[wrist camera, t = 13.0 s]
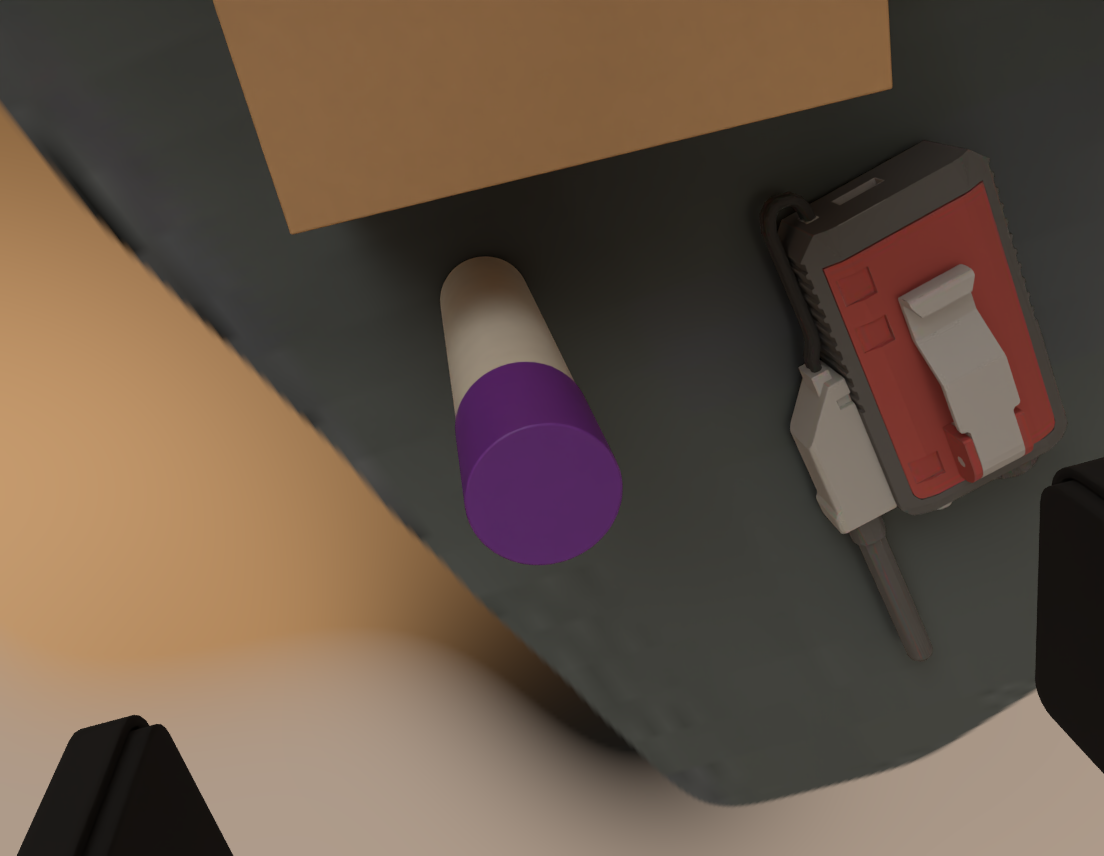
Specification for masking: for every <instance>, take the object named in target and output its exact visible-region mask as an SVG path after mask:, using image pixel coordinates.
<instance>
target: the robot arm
mask: <svg viewBox="0 0 1104 856" xmlns="http://www.w3.org/2000/svg"><path fill="white" fill-rule="evenodd" d="M1035 681H1036V688H1037V692H1038V695H1039V697H1040V700H1041V702H1042V704H1043V706H1044V707H1045V709H1046V711H1047V712H1048V713H1049V714H1050V716H1051V717H1052V718H1053V719H1054V720H1055V721H1056V722H1057V723H1058V725H1059V726H1060V727H1061V728H1062V729H1063V730H1064V731H1065V732H1066V733H1067V734H1068V735H1069V737H1070V738H1071V739H1072V740H1073V741H1074V742H1075V743H1076V744H1077V745H1078V746H1079V747H1080V748H1081V750H1082V751H1083V752H1084V753H1085V754H1086V755H1087V756H1088V757H1089V758H1090V759H1091V760H1092V761H1093V763H1094V764H1095V765H1096V766H1097V767H1098V768H1099V769H1100V770H1101V771H1102V772H1103V773H1104V457H1103V458H1099V459H1096V460H1092V461H1088V462H1084V463H1081V464H1077V465H1073V466H1069V467H1066V468H1062V469H1061V470H1059V471H1057V472H1056V474H1055V476H1054V478H1053V481H1052V486H1049V487H1047V488H1045V489H1044V491H1043V492H1042V494H1041V501H1040V533H1039V567H1038V601H1037V636H1036V670H1035ZM17 856H233V854H232V852H231V850H230V848H229V847H228V845H227V843H226V841H225V839H224V837H223V835H222V833H221V831H220V830H219V828H218V826H217V824H216V822H215V820H214V818H213V816H212V814H211V812H210V810H209V809H208V806H207V804H206V803H205V801H204V799H203V797H202V795H201V793H200V791H199V789H198V787H197V785H196V783H195V781H194V780H193V778H192V776H191V774H190V772H189V770H188V768H187V766H186V764H185V762H184V761H183V759H182V757H181V755H180V753H179V751H178V749H177V747H176V745H175V743H174V741H173V739H172V738H171V736H170V734H169V732H168V731H167V730H166V728H165V727H164V726H162V725H161V724H155V725H151V726H149V725H148V723H147V721H146V720H145V719H143V718H142V717H141V716H138V715H132V716H128V717H124V718H121V719H117V720H113V721H109V722H106V723H102V724H98V725H95V726H90V727H87V728H83V729H80V730H78V731H77V732H75V733H74V735H73V736H72V737H71V739H70V740H69V742H68V744H67V747H66V749H65V751H64V753H63V755H62V758H61V760H60V762H59V764H58V766H57V769H56V771H55V773H54V775H53V777H52V779H51V782H50V784H49V786H48V788H47V790H46V793H45V795H44V797H43V799H42V802H41V804H40V806H39V808H38V810H37V812H36V815H35V817H34V819H33V821H32V823H31V826H30V828H29V830H28V832H27V834H26V836H25V839H24V841H23V843H22V845H21V847H20V850H19V852H18V854H17Z"/></svg>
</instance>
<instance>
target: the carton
mask: <svg viewBox="0 0 1104 856" xmlns="http://www.w3.org/2000/svg"><path fill="white" fill-rule="evenodd" d="M213 3H214V6H215V9H216V12H217V15H218V18H219V21H220V24H221V27H222V30H223V33H224V36H225V39H226V42H227V45H228V48H229V51H230V54H231V57H232V60H233V63H234V66H235V69H236V72H237V75H238V78H239V81H240V84H241V87H242V90H243V93H244V96H245V99H246V102H247V105H248V108H249V111H250V114H251V117H252V120H253V123H254V126H255V129H256V132H257V135H258V138H259V141H260V144H261V147H262V150H263V153H264V156H265V159H266V162H267V165H268V168H269V171H270V174H271V177H272V180H273V183H274V186H275V189H276V192H277V195H278V198H279V201H280V204H281V207H282V210H283V213H284V216H285V219H286V222H287V225H288V228H289V231H290V233H291V234H297V233H301V232H305V231H309V230H313V229H317V228H322V227H326V226H330V225H334V224H338V223H342V222H346V221H350V220H354V219H359V218H363V217H367V216H371V215H375V214H379V213H383V212H387V211H391V210H396V209H400V208H404V207H408V206H412V205H416V204H420V203H424V202H428V201H433V200H437V199H441V198H445V197H449V196H453V195H457V194H461V193H465V192H470V191H474V190H478V189H482V188H486V187H490V186H494V185H498V184H502V183H507V182H511V181H515V180H519V179H523V178H527V177H531V176H535V175H539V174H544V173H548V172H552V171H556V170H560V169H564V168H568V167H572V166H576V165H580V164H585V163H589V162H593V161H597V160H601V159H605V158H609V157H613V156H617V155H622V154H626V153H630V152H634V151H638V150H642V149H646V148H650V147H654V146H659V145H663V144H667V143H671V142H675V141H679V140H683V139H687V138H691V137H696V136H700V135H704V134H708V133H712V132H716V131H720V130H724V129H728V128H733V127H737V126H741V125H745V124H749V123H753V122H757V121H761V120H765V119H770V118H774V117H778V116H782V115H786V114H790V113H794V112H798V111H802V110H807V109H811V108H815V107H819V106H823V105H827V104H831V103H835V102H839V101H844V100H848V99H852V98H856V97H860V96H864V95H868V94H872V93H876V92H881V91H885V90H889V89H891V88H892V87H893V86H892V67H891V47H890V28H889V9H888V0H213Z"/></svg>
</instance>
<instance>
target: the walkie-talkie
mask: <svg viewBox="0 0 1104 856" xmlns="http://www.w3.org/2000/svg"><path fill="white" fill-rule="evenodd" d="M989 161H990V158H987V157H985V156H983V155H980V154H978V153H976V152H973V151H971V150H968V149H964V148H959V147H954V146H949V145H945V144H940V143H935V142H930V141H925V140H924V141H922V142H920V143H919V144H917V145H915V146H913V147H911V148H910V149H908V150H906V151H904V152H902V153H901V154H899V155H897V156H895V157H893V158H892V159H890V160H888V161H886V162H884V163H883V164H881V165H879V166H877V167H875V168H874V169H872V170H870V171H868V172H867V173H865V174H863V175H861V176H859V177H858V178H856V179H854V180H852V181H850V182H849V183H847V184H845V185H843V186H841V187H840V188H838V189H836V190H834V191H832V192H831V193H829V194H827V195H825V196H823V197H822V198H820V199H818V200H816V201H815V202H813V203H811V204H809V203H808V202H807V201H806V200H805V199H804V198H803V197H802V196H799V195H797V194H794V193H791V192H785V193H782V194H778V195H774V196H771V197H770V198H769V199H768V200H767V201H766V202H765V203H764V205H763V208H762V210H761V212H760V226H761V234H762V236H763V239H764V241H765V243H766V246H767V248H768V250H769V253H770V255H771V257H772V260H773V262H774V264H775V267H776V269H777V272H778V274H779V276H780V279H781V281H782V283H783V286H784V288H785V290H786V293H787V295H788V297H789V300H790V302H791V305H792V307H793V309H794V312H795V314H796V316H797V319H798V322H799V324H800V327H801V329H802V332H803V336H804V340H805V345H804V353H803V356H804V362H805V364H804V365H802V366H800V367H798V368H799V370H800V373H801V375H802V377H803V379H802V382H801V386H800V390H799V393H798V397H797V401H796V404H795V408H794V412H793V415H792V419H791V423H790V432H791V434H792V436H793V438H794V441H795V443H796V445H797V447H798V449H799V452H800V454H801V456H802V458H803V461H804V463H805V465H806V467H807V469H808V472H809V474H810V476H811V478H812V481H813V483H814V485H815V487H816V489H817V495H816V499H817V501H818V503H819V505H820V507H821V509H822V511H823V513H824V514H825V515H826V517H827V518H828V519H829V520H830V521H831V522H832V524H833V525H834V526H835V527H836V528H837V529H838V530H839V532H840V533H842V534H844V533H848V532H849V534H850V537H851V539H852V541H853V542H854V543H855V544H858V545H859V547H860V550H861V552H862V554H863V556H864V559H865V561H866V563H867V565H868V567H869V570H870V572H871V574H872V576H873V579H874V581H875V583H876V585H877V588H878V590H879V592H880V594H881V597H882V599H883V601H884V603H885V606H886V608H887V610H888V612H889V614H890V617H891V619H892V621H893V623H894V626H895V628H896V630H897V632H898V635H899V637H900V639H901V641H902V643H903V646H904V648H905V650H906V652H907V655H908V656H909V657H910V658H911V659H913V660H916V661H920V662H921V661H925V660H927V659H928V658H929V657H930V656H931V655H932V651H933V647H932V644H931V642H930V639H929V637H928V635H927V632H926V630H925V628H924V625H923V623H922V621H921V618H920V616H919V614H918V611H917V609H916V607H915V604H914V602H913V600H912V597H911V595H910V593H909V591H908V588H907V586H906V584H905V581H904V579H903V577H902V574H901V572H900V570H899V567H898V565H897V563H896V560H895V558H894V556H893V553H892V551H891V549H890V546H889V544H888V542H887V539H886V537H885V534H886V526H885V524H884V521H883V519H882V516H881V515H882V514H884V513H886V512H888V511H890V510H892V509H894V508H896V507H897V506H898V507H899V508H900V509H901V510H902V511H904V512H906V513H909V514H911V515H918V514H922V513H927V512H931V511H934V510H937V509H944V508H946V507H948V506H949V505H950V504H951V503H952V501H954V500H956V499H958V498H960V497H962V496H964V495H965V494H967V493H969V492H971V491H973V490H975V489H977V488H979V487H981V486H982V485H984V484H986V483H988V482H990V481H992V480H994V479H996V478H997V479H1004V478H1009V477H1015V476H1018V475H1020V474H1023V473H1025V472H1026V471H1028V470H1029V469H1030V468H1031V467H1032V466H1033V465H1034V464H1035V463H1036V461H1037V459H1038V456H1039V455H1041V454H1043V453H1045V452H1047V451H1049V450H1051V449H1052V448H1053V447H1054V446H1055V445H1056V443H1057V442H1058V441H1059V440H1060V439H1061V438H1062V437H1063V435H1064V432H1065V430H1066V427H1067V424H1068V422H1067V418H1066V415H1065V411H1064V408H1063V405H1062V401H1061V398H1060V395H1059V391H1058V388H1057V384H1056V381H1055V378H1054V374H1053V371H1052V367H1051V364H1050V361H1049V357H1048V354H1047V351H1046V347H1045V344H1044V340H1043V337H1042V334H1041V330H1040V327H1039V324H1038V320H1037V319H1035V318H1034V315H1033V311H1034V307H1033V306H1032V305H1030V302H1029V297H1030V294H1029V292H1028V291H1026V288H1025V285H1024V284H1025V283H1026V280H1025V278H1024V277H1022V275H1021V271H1020V270H1021V268H1022V266H1021V263H1018V261H1017V258H1016V254H1017V250H1016V248H1013V244H1012V239H1013V236H1012V234H1011V233H1009V231H1008V228H1007V225H1008V223H1009V222H1008V219H1007V218H1005V217H1004V214H1003V209H1004V206H1003V203H1000V200H999V197H998V194H999V189H998V187H995V184H994V180H993V178H994V177H995V175H994V172H993V171H991V170H990V167H989ZM789 206H792V207H793V208H794V210H795V211H796V212H795V213H793V214H791V215H789V216H788V217H786V218H784V219H782V220H781V223H780V226H779V229H778V232H777V227H776V219H777V214H778V212H779V211H780V210H781V209H782V208H786V207H789ZM819 357H821V358H822V360H823V362H822V361H821V360H819Z"/></svg>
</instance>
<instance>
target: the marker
mask: <svg viewBox="0 0 1104 856" xmlns="http://www.w3.org/2000/svg"><path fill="white" fill-rule="evenodd" d="M440 306H441V313H442V321H443V328H444V336H445V343H446V350H447V358H448V365H449V372H450V380H451V387H452V395H453V402H454V409H455V417H456V422H455V433H456V442H457V449H458V457H459V465H460V473H461V480H462V488H463V496H464V503H465V510H466V514H467V518H468V520H469V523H470V525H471V527H472V529H473V531H474V533H475V534H476V535H477V537H478V538H479V539H480V541H481V542H482V543H483V544H484V545H485V546H486V547H488V548H489V549H490V550H492V551H493V552H494V553H496V554H498V555H500V556H502V557H503V558H506V559H508V560H511V561H514V562H518V563H521V564H528V565H548V564H555V563H559V562H563V561H566V560H569V559H572V558H574V557H576V556H578V555H580V554H582V553H584V552H585V551H587V550H588V549H590V548H591V547H592V546H594V545H595V544H596V543H597V542H598V541H599V540H600V539H601V538H602V537H603V536H604V535H605V534H606V533H607V531H608V530H609V529H610V527H611V525H612V524H613V522H614V520H615V518H616V516H617V514H618V511H619V508H620V505H621V500H622V490H623V484H622V476H621V472H620V469H619V466H618V464H617V461H616V459H615V457H614V455H613V453H612V451H611V449H610V447H609V445H608V443H607V441H606V439H605V437H604V435H603V433H602V431H601V429H600V427H599V425H598V423H597V421H596V419H595V417H594V415H593V413H592V411H591V409H590V407H589V405H588V403H587V401H586V399H585V397H584V395H583V393H582V392H581V390H580V388H579V387H578V386H577V385H576V383H575V382H574V380H573V378H572V376H571V374H570V372H569V370H568V367H567V365H566V363H565V361H564V359H563V357H562V355H561V353H560V351H559V349H558V347H557V345H556V343H555V341H554V339H553V337H552V335H551V333H550V331H549V329H548V327H547V325H546V323H545V321H544V319H543V317H542V315H541V313H540V310H539V308H538V306H537V304H536V302H535V300H534V298H533V296H532V294H531V292H530V290H529V288H528V286H527V284H526V282H525V280H524V278H523V277H522V275H521V274H520V272H519V271H518V270H517V269H516V268H515V267H514V266H512V265H511V264H509V263H508V262H506V261H504V260H502V259H499V258H495V257H488V256H483V257H475V258H472V259H469V260H466V261H464V262H462V263H461V264H459V265H458V266H457V267H455V268H454V269H453V270H452V271H451V272H450V274H449V275H448V276H447V278H446V280H445V282H444V284H443V287H442V290H441V295H440Z"/></svg>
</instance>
